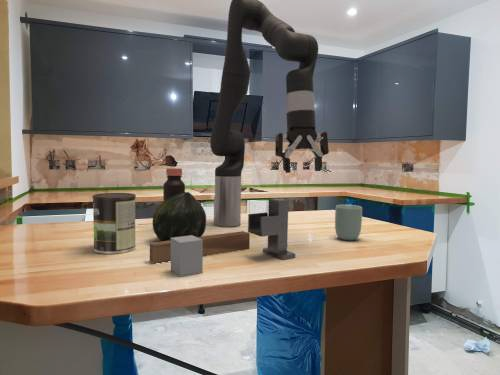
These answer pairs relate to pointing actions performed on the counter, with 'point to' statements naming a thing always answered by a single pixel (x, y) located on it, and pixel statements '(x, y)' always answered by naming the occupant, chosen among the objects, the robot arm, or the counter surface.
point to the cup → (348, 221)
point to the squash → (179, 217)
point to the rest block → (186, 255)
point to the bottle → (173, 183)
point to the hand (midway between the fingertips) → (302, 171)
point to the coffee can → (114, 222)
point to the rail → (204, 245)
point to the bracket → (273, 228)
